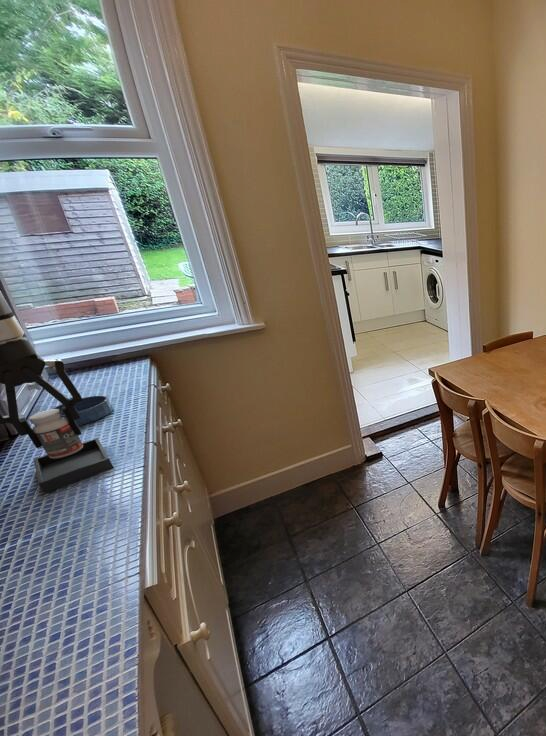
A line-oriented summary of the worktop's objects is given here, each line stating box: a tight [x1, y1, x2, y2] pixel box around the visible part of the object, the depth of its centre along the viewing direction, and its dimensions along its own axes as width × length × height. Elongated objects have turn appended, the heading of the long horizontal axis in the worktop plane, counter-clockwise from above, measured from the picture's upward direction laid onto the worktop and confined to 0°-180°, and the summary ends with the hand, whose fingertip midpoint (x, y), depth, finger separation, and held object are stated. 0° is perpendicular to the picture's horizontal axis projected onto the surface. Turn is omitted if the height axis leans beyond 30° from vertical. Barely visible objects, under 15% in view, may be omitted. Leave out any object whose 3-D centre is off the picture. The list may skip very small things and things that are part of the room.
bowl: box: [51, 395, 114, 427], centre depth 118 cm, size 13×13×4 cm
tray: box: [33, 437, 115, 494], centre depth 95 cm, size 15×11×3 cm
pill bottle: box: [28, 408, 83, 458], centre depth 91 cm, size 6×6×10 cm
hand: (59, 439), depth 92 cm, fingers closed on pill bottle, 6 cm apart
